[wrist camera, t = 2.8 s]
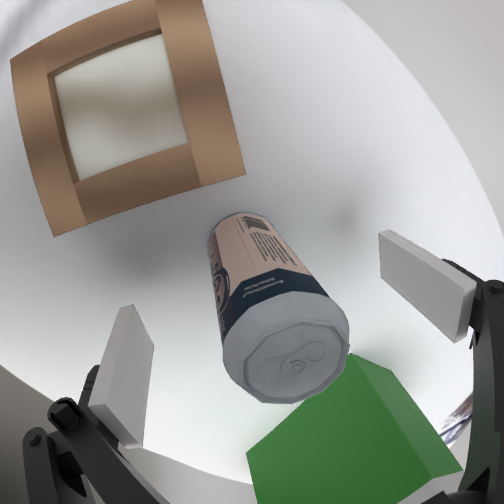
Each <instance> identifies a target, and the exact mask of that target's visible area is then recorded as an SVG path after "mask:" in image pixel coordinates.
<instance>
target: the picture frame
mask: <svg viewBox="0 0 504 504" xmlns="http://www.w3.org/2000/svg"><path fill="white" fill-rule="evenodd" d="M10 64H11V73H12V81H13V89H14V95H15V101H16V107H17V113H18V118H19V123H20V128H21V132H22V137H23V141H24V145H25V149H26V153H27V157H28V161H29V164H30V168H31V172H32V175H33V178H34V182H35V185H36V188H37V191H38V194H39V197H40V200H41V203H42V206H43V209H44V212H45V215H46V218H47V220H48V223H49V226H50V228H51V231H52V233H53V236H54V237H56V236H59V235H61V234H64V233H66V232H69V231H71V230H74V229H77V228H79V227H82V226H85V225H87V224H90V223H93V222H95V221H98V220H101V219H104V218H106V217H109V216H112V215H115V214H118V213H120V212H123V211H126V210H129V209H132V208H135V207H138V206H141V205H144V204H147V203H150V202H153V201H156V200H160V199H163V198H166V197H169V196H172V195H175V194H179V193H182V192H185V191H189V190H192V189H195V188H199V187H202V186H206V185H209V184H213V183H216V182H220V181H224V180H227V179H231V178H235V177H238V176H242V175H246V171H245V167H244V163H243V159H242V155H241V151H240V147H239V143H238V139H237V135H236V131H235V127H234V123H233V119H232V115H231V111H230V107H229V103H228V99H227V95H226V91H225V87H224V83H223V79H222V75H221V72H220V68H219V64H218V60H217V56H216V52H215V48H214V44H213V41H212V37H211V33H210V29H209V25H208V22H207V18H206V14H205V10H204V7H203V3H202V0H132V1H129V2H126V3H124V4H121V5H118V6H115V7H113V8H110V9H107V10H105V11H102V12H100V13H97V14H95V15H92V16H90V17H88V18H86V19H83V20H81V21H79V22H77V23H75V24H72V25H70V26H68V27H66V28H64V29H62V30H60V31H58V32H56V33H54V34H52V35H51V36H49V37H47V38H45V39H43V40H41V41H40V42H38V43H36V44H34V45H33V46H31V47H29V48H28V49H26V50H24V51H23V52H21V53H20V54H18V55H16V56H15V57H13V58H12V59H10Z"/></svg>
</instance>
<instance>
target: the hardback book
mask: <svg viewBox="0 0 504 504" xmlns="http://www.w3.org/2000/svg"><path fill="white" fill-rule="evenodd" d="M246 455H247V459H248V464H249V468H250V473H251V477H252V481H253V486H254V490H255V494H256V498H257V503H258V504H421V503H423V502H424V501H426V500H428V499H430V498H431V497H433V496H435V495H436V494H438V493H440V492H441V491H443V490H444V492H445V493H446V494H450V493H454V492H457V491H458V487H459V484H460V482H461V479H462V477H463V475H464V472H465V471H464V470H463V469H462V467H461V466H460V464H459V463H458V461H457V460H456V459H455V457H454V456H453V454H452V453H451V451H450V450H449V449H448V447H447V446H446V444H445V443H444V442H443V440H442V439H441V437H440V436H439V435H438V433H437V432H436V430H435V429H434V428H433V426H432V425H431V424H430V422H429V421H428V419H427V418H426V417H425V415H424V414H423V413H422V411H421V410H420V409H419V407H418V406H417V404H416V403H415V402H414V400H413V399H412V398H411V396H410V395H409V394H408V392H407V391H406V390H405V388H404V387H403V386H402V384H401V383H400V382H399V381H398V379H397V378H396V377H395V375H394V374H393V373H392V371H390V370H388V369H386V368H383V367H381V366H379V365H376V364H374V363H372V362H370V361H367V360H365V359H363V358H360V357H358V356H356V355H354V354H351V353H350V354H349V355H348V356H347V360H346V364H345V368H344V371H343V372H342V373H341V374H340V375H339V376H338V377H337V378H336V379H335V380H334V381H333V382H332V383H331V384H330V385H329V386H328V387H327V388H326V389H325V390H324V391H323V392H321V393H319V394H317V395H314V396H312V397H309V398H307V399H306V400H305V401H304V402H303V403H302V404H301V405H300V406H299V407H298V408H297V409H295V410H294V411H293V412H292V413H291V414H290V415H289V416H288V417H287V418H286V419H285V420H284V421H282V422H281V423H280V424H279V425H278V426H277V427H276V428H275V429H274V430H272V431H271V432H270V433H269V434H268V435H267V436H266V437H264V438H263V439H262V440H261V441H260V442H258V443H257V444H256V445H255V446H254V447H252V448H251V449H250V450H249V451H248V452H246Z"/></svg>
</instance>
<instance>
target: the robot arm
mask: <svg viewBox="0 0 504 504" xmlns="http://www.w3.org/2000/svg"><path fill="white" fill-rule="evenodd" d="M378 235H379V251H380V272H381V278H382V279H383V280H384V281H385V282H386V283H387V284H389V285H390V286H391V287H392V288H393V289H394V290H396V291H397V292H398V293H399V294H400V295H401V296H402V297H404V298H405V299H406V300H407V301H408V302H409V303H410V304H412V305H413V306H414V307H415V308H416V309H417V310H418V311H419V312H421V313H422V314H423V315H424V316H425V317H426V318H427V319H428V320H429V321H430V322H432V323H433V324H434V325H435V326H436V327H437V328H438V329H439V330H440V331H441V332H442V333H443V334H445V335H446V336H447V337H448V338H449V339H450V340H451V341H452V342H453V343H454V344H455V343H456V342H458V341H460V340H461V339H463V338H464V337H466V335H467V331H468V327H469V326H471V327H472V328H473V329H474V331H473V335H472V339H471V343H470V347H469V349H471V348H472V345H473V362H474V385H473V410H472V423H471V434H470V442H469V450H468V458H467V463H466V469H465V472H464V475H463V477H462V479H461V482H460V484H459V487H458V491H457V492H454V493H450V494H446V493H445V492H444V490H443V491H441V492H440V493H438V494H436V495H435V496H433V497H431V498H430V499H428V500H426V501H424V502H423V503H421V504H504V282H502V281H499V280H488V281H486V282H485V281H483V280H481V279H480V278H478V277H477V276H475V275H474V274H472V273H471V272H469V271H466V269H464V268H463V267H460V266H459V265H458V264H456V263H454V262H453V261H449V260H446V259H440V258H438V257H436V256H435V255H433V254H431V253H430V252H428V251H426V250H425V249H423V248H421V247H420V246H418V245H416V244H414V243H413V242H411V241H409V240H407V239H406V238H404V237H402V236H400V235H399V234H397V233H395V232H393V231H392V230H387V231H383V232H380V233H378ZM153 350H154V345H153V343H152V341H151V339H150V337H149V335H148V333H147V331H146V329H145V327H144V325H143V323H142V321H141V319H140V317H139V315H138V313H137V311H136V309H135V307H134V305H130V306H126V307H122V308H120V310H119V313H118V316H117V318H116V321H115V324H114V326H113V329H112V332H111V335H110V337H109V340H108V343H107V346H106V349H105V352H104V355H103V358H102V361H101V364H100V365H95V366H94V367H93V368H92V369H91V371H90V372H89V373H88V375H87V378H86V381H85V383H86V384H84V387H83V391H82V393H81V396H80V400H79V403H78V405H77V404H76V402H75V401H74V400H73V399H72V398H68V397H65V398H61V399H59V400H57V401H56V402H54V403H53V404H52V405H51V407H50V409H49V410H48V414H47V416H48V420H49V421H50V422H51V423H52V424H53V425H54V426H55V427H56V428H57V429H58V431H55V432H52V433H49V434H48V433H47V432H46V431H45V430H43V429H42V428H41V427H35V428H32V429H31V430H29V431H28V432H27V433H26V435H25V436H24V439H23V457H24V468H25V476H26V484H27V491H28V497H29V502H30V504H96V503H95V500H94V498H93V495H92V492H91V489H90V487H89V484H88V480H89V481H90V483H91V484H92V486H93V487H94V488H95V490H96V491H97V493H98V494H99V496H100V497H101V498H102V500H103V501H104V502H105V503H106V504H170V503H169V502H168V501H167V500H166V499H165V498H163V497H162V496H161V495H160V494H159V493H158V492H157V491H156V490H155V489H154V488H153V487H152V486H151V485H150V484H149V483H148V482H147V481H146V480H145V479H144V477H143V476H142V475H141V474H140V473H139V472H138V471H137V470H136V469H135V468H134V467H133V465H132V464H131V463H130V462H129V461H128V460H127V459H126V458H125V456H124V455H123V454H122V453H121V452H120V451H119V450H118V442H120V443H121V444H122V445H123V446H124V447H125V448H126V449H129V448H139V447H143V438H144V426H145V416H146V406H147V397H148V388H149V380H150V372H151V365H152V357H153ZM86 476H87V477H86ZM87 478H88V480H87Z"/></svg>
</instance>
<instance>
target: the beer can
mask: <svg viewBox="0 0 504 504" xmlns="http://www.w3.org/2000/svg"><path fill="white" fill-rule="evenodd" d="M208 255H209V259H210V265H211V273H212V280H213V287H214V294H215V301H216V308H217V314H218V321H219V327H220V334H221V340H222V346H223V363H224V366H225V368H226V371H227V372H228V374H229V376H230V378H231V379H232V380H233V381H234V382H235V383H236V384H238V385H239V386H241V387H242V388H243V389H244V390H245V391H247V392H248V393H249V394H251V395H252V396H253V397H255V398H256V399H257V400H259V401H260V402H262V403H274V404H294V403H296V402H299V401H302V400H304V399H307V398H309V397H312V396H314V395H317V394H319V393H321V392H323V391H324V390H325V389H326V388H327V387H328V386H329V385H330V384H331V383H332V382H333V381H334V380H335V379H336V378H337V377H338V376H339V375H340V374H341V373H342V372H343V371H344V368H345V364H346V360H347V356H348V352H349V347H350V344H349V324H348V320H347V318H346V316H345V314H344V312H343V310H342V309H341V308H340V307H339V306H338V305H337V303H336V302H334V301H333V300H332V299H331V298H330V297H329V296H328V294H327V293H326V292H325V291H324V289H323V288H322V287H321V286H320V284H319V283H318V282H317V281H316V279H315V278H314V277H313V276H312V274H311V273H310V272H309V271H308V269H307V268H306V267H305V266H304V265H303V263H302V262H301V261H300V260H299V258H298V257H297V256H296V255H295V253H294V252H293V251H292V250H291V249H290V247H289V246H288V245H287V244H286V242H285V241H284V240H283V239H282V238H281V236H280V235H279V234H278V233H277V232H276V230H275V228H274V227H273V225H272V224H271V223H270V222H269V221H268V220H267V219H266V218H264V217H262V216H260V215H257V214H253V213H238V214H234V215H231V216H229V217H227V218H225V219H224V220H222V221H221V222H220V223H219V224H218V225H217V226H216V227H215V228H214V230H213V231H212V233H211V235H210V238H209V241H208Z"/></svg>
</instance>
